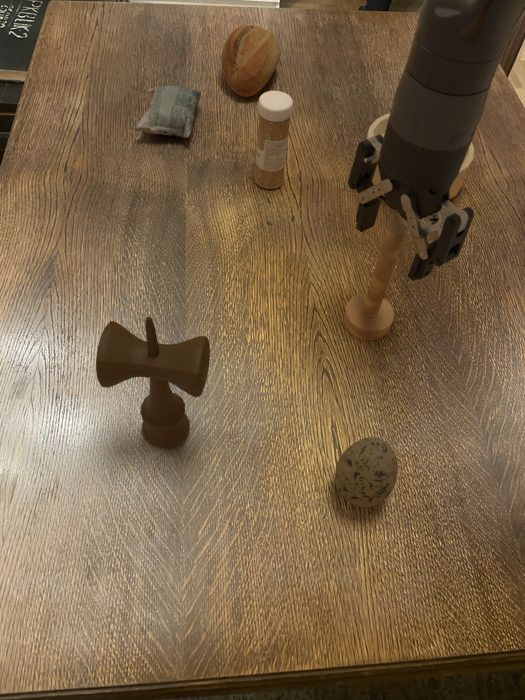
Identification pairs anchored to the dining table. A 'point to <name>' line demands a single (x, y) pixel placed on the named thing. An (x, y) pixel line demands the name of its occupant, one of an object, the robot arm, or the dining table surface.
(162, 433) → the kendama
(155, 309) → the dining table surface
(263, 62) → the bread roll
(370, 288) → the wooden peg stand
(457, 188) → the bowl
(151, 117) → the packaged food
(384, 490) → the decorative egg
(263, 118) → the sprinkles bottle
